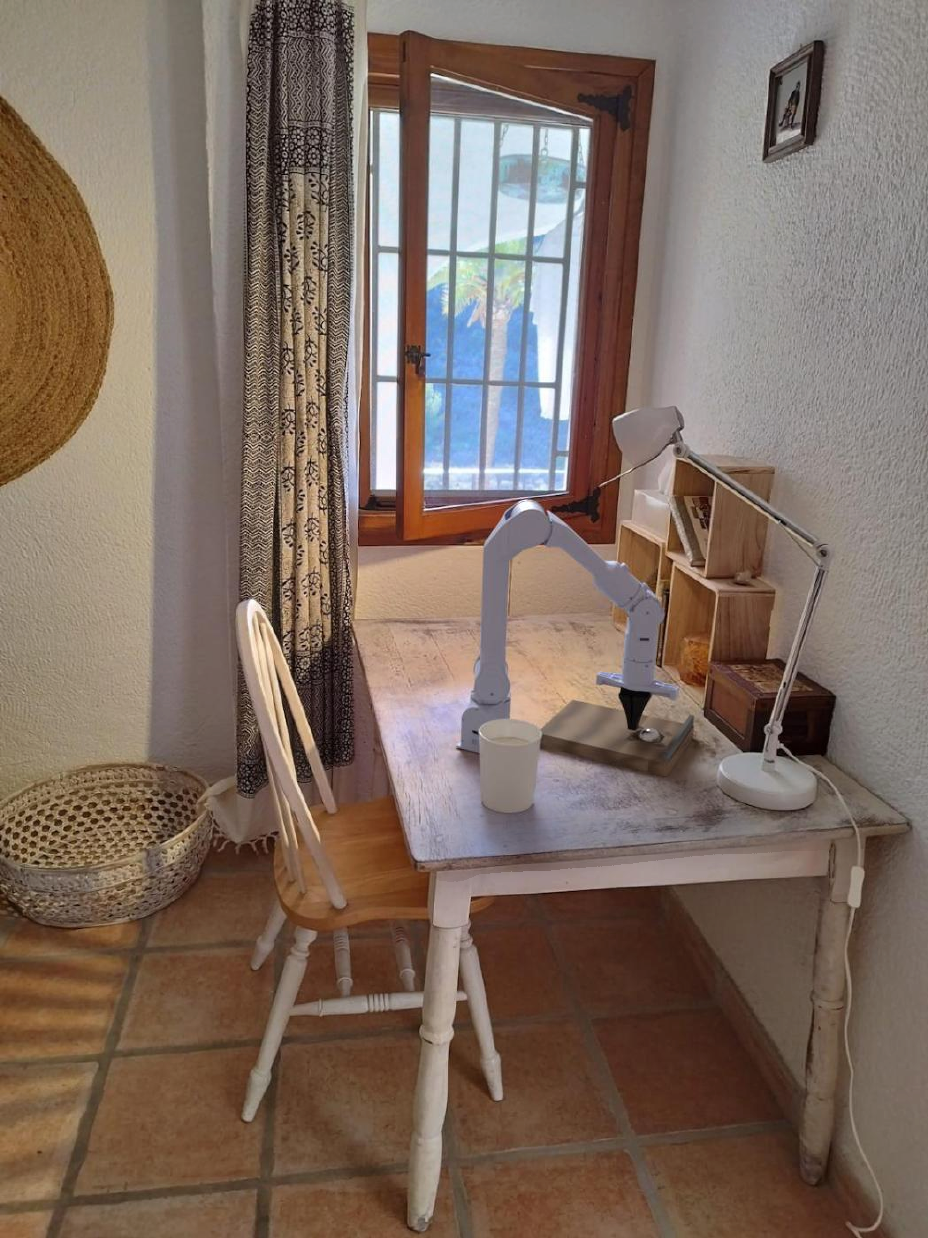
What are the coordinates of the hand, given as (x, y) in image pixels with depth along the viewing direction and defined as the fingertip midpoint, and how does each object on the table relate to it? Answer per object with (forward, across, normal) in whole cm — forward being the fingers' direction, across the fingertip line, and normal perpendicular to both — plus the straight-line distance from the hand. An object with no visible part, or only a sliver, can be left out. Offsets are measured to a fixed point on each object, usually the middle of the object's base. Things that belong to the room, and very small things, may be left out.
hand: (632, 728), depth 161 cm
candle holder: (+4, +11, +30) cm, 32 cm away
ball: (+1, -3, 0) cm, 3 cm away
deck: (+3, +2, 0) cm, 4 cm away
